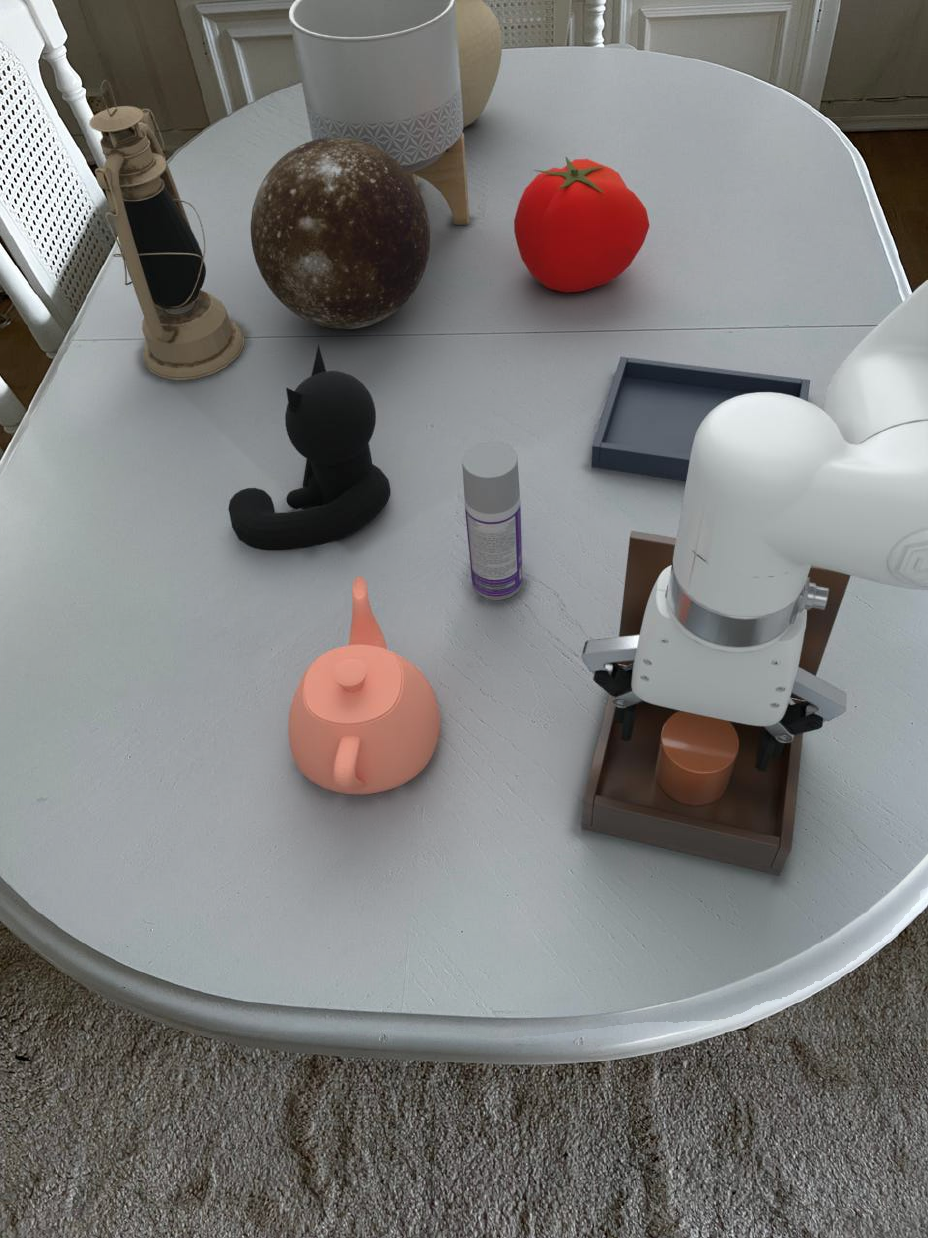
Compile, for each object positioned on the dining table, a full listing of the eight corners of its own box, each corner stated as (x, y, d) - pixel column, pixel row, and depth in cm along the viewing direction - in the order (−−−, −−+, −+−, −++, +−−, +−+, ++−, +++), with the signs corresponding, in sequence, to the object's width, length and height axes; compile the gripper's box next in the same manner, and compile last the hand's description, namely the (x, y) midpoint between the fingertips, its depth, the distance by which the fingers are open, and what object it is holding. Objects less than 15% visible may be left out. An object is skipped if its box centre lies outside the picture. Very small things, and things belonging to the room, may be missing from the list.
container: (488, 555, 91) (479, 432, 79) (531, 572, 89) (529, 449, 78) (462, 588, 89) (449, 467, 77) (507, 607, 87) (500, 486, 75)
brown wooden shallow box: (779, 875, 70) (791, 850, 67) (580, 828, 73) (582, 801, 70) (795, 730, 77) (806, 701, 74) (613, 693, 81) (616, 663, 77)
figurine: (304, 441, 103) (272, 320, 91) (417, 477, 98) (399, 354, 87) (214, 542, 95) (166, 422, 83) (333, 587, 90) (301, 467, 78)
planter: (457, 261, 122) (439, 37, 102) (313, 257, 125) (268, 38, 105) (479, 185, 134) (466, -30, 114) (347, 183, 137) (312, -27, 116)
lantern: (168, 309, 120) (76, 48, 97) (259, 313, 118) (188, 47, 95) (124, 384, 111) (11, 116, 88) (222, 389, 110) (134, 117, 86)
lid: (851, 574, 63) (851, 566, 64) (629, 537, 67) (631, 530, 67) (807, 701, 73) (808, 693, 74) (615, 664, 77) (617, 656, 77)
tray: (804, 401, 102) (810, 379, 99) (792, 497, 93) (798, 475, 91) (619, 377, 106) (620, 356, 104) (591, 467, 98) (592, 445, 95)
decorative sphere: (348, 387, 108) (315, 218, 93) (239, 321, 118) (192, 157, 102) (472, 304, 116) (460, 136, 101) (360, 249, 126) (334, 87, 110)
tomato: (502, 300, 116) (497, 190, 106) (534, 239, 124) (533, 131, 114) (630, 318, 113) (639, 205, 102) (655, 254, 120) (666, 143, 110)
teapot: (281, 830, 75) (252, 768, 67) (309, 643, 86) (287, 573, 79) (438, 828, 74) (426, 766, 67) (445, 640, 85) (436, 569, 78)
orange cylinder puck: (733, 750, 76) (743, 715, 72) (724, 813, 72) (734, 780, 68) (661, 735, 77) (667, 700, 73) (649, 796, 74) (654, 763, 70)
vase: (457, 86, 154) (440, -148, 130) (527, 119, 145) (523, -126, 122) (372, 123, 148) (339, -116, 124) (440, 160, 139) (419, -90, 116)
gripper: (889, 568, 58) (821, 722, 71) (601, 518, 61) (588, 674, 75) (884, 668, 53) (813, 812, 67) (575, 607, 57) (566, 756, 70)
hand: (694, 739), depth 71 cm, fingers open, 9 cm apart
